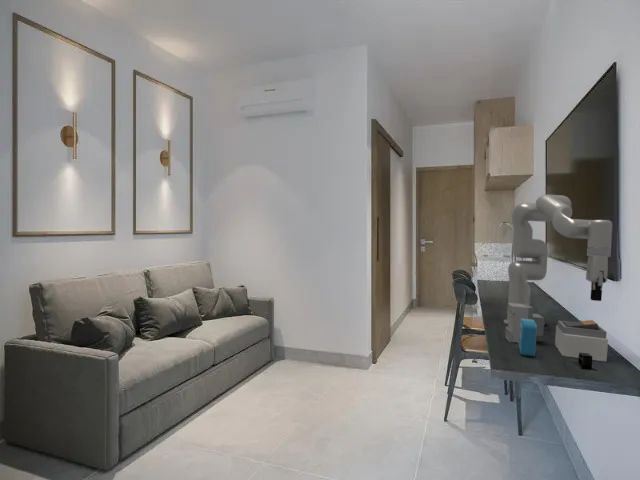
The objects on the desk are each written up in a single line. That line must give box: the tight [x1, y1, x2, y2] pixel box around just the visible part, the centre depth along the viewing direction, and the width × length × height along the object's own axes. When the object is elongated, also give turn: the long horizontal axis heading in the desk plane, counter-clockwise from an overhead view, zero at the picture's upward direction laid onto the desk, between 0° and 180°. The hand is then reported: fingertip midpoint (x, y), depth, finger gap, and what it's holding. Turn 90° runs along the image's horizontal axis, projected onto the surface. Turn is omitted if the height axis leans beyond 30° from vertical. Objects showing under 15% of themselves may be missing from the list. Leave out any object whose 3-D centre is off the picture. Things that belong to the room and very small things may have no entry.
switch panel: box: [554, 320, 609, 362], centre depth 161 cm, size 16×14×10 cm
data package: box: [518, 318, 537, 358], centre depth 158 cm, size 12×4×12 cm, turn 158°
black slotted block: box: [570, 352, 599, 372], centre depth 145 cm, size 12×7×5 cm, turn 166°
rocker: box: [564, 319, 599, 329], centre depth 161 cm, size 7×10×2 cm
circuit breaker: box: [504, 303, 548, 344], centre depth 174 cm, size 8×14×15 cm, turn 78°
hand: (595, 300), depth 158 cm, fingers closed
